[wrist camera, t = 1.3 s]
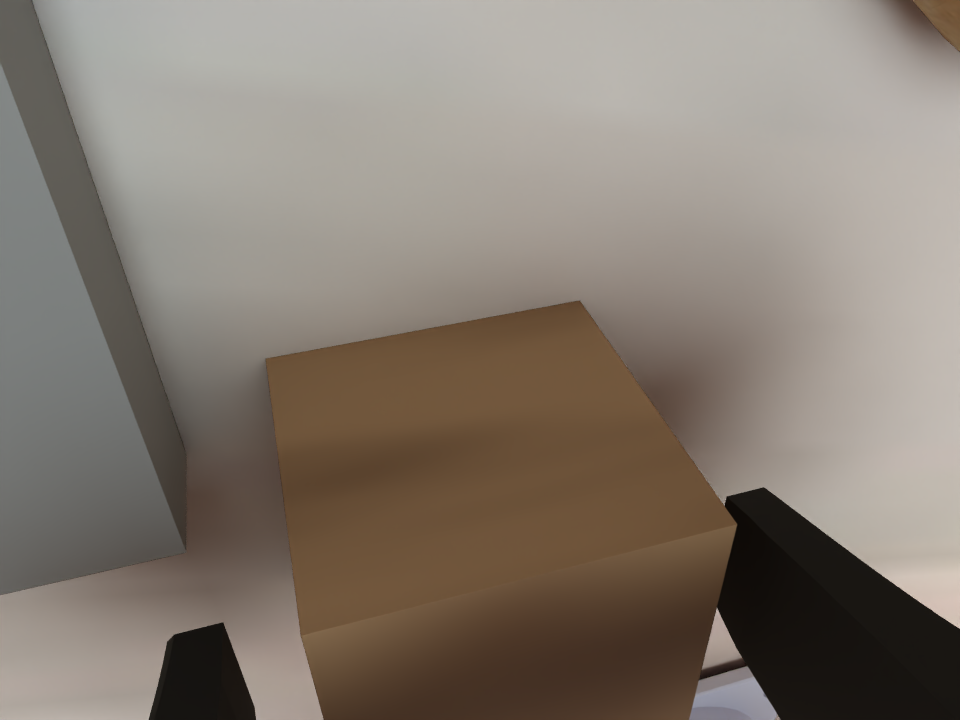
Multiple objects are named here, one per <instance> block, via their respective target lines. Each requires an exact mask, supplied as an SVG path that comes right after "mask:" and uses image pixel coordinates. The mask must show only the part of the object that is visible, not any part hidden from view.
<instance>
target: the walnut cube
mask: <svg viewBox="0 0 960 720" xmlns="http://www.w3.org/2000/svg"><path fill="white" fill-rule="evenodd" d="M266 366H267V373H268V381H269V389H270V397H271V405H272V413H273V421H274V428H275V436H276V444H277V452H278V460H279V468H280V476H281V483H282V491H283V499H284V507H285V515H286V523H287V531H288V538H289V546H290V554H291V562H292V570H293V578H294V586H295V593H296V601H297V609H298V617H299V625H300V633H301V638H302V642H303V645H304V649H305V653H306V656H307V660H308V664H309V667H310V671H311V674H312V678H313V682H314V685H315V689H316V693H317V696H318V700H319V704H320V707H321V711H322V715H323V718H324V720H689V718H690V714H691V710H692V706H693V702H694V698H695V694H696V690H697V686H698V681H699V677H700V673H701V669H702V665H703V661H704V657H705V653H706V649H707V645H708V641H709V637H710V633H711V629H712V625H713V621H714V616H715V612H716V608H717V604H718V600H719V596H720V592H721V588H722V584H723V580H724V576H725V572H726V568H727V564H728V560H729V556H730V552H731V547H732V543H733V539H734V535H735V531H736V527H737V523H736V522H735V521H734V519H733V518H732V516H731V515H730V513H729V512H728V511H727V509H726V508H725V506H724V505H723V503H722V502H721V501H720V499H719V498H718V496H717V495H716V494H715V492H714V491H713V489H712V488H711V486H710V485H709V484H708V482H707V481H706V479H705V478H704V476H703V475H702V474H701V472H700V471H699V469H698V468H697V467H696V465H695V464H694V462H693V461H692V459H691V458H690V457H689V455H688V454H687V452H686V451H685V450H684V448H683V447H682V445H681V444H680V442H679V441H678V440H677V438H676V437H675V435H674V434H673V432H672V431H671V430H670V428H669V427H668V425H667V424H666V423H665V421H664V420H663V418H662V417H661V415H660V414H659V413H658V411H657V410H656V408H655V407H654V405H653V404H652V403H651V401H650V400H649V398H648V397H647V396H646V394H645V393H644V391H643V390H642V388H641V387H640V386H639V384H638V383H637V381H636V380H635V378H634V377H633V376H632V374H631V373H630V371H629V370H628V369H627V367H626V366H625V364H624V363H623V361H622V360H621V359H620V357H619V356H618V354H617V353H616V352H615V350H614V349H613V347H612V346H611V344H610V343H609V342H608V340H607V339H606V337H605V336H604V334H603V333H602V332H601V330H600V329H599V327H598V326H597V325H596V323H595V322H594V320H593V319H592V317H591V316H590V315H589V313H588V312H587V310H586V309H585V307H584V306H583V305H582V303H581V302H580V301H574V302H569V303H564V304H558V305H553V306H547V307H542V308H537V309H531V310H526V311H521V312H515V313H510V314H504V315H499V316H494V317H488V318H483V319H477V320H472V321H467V322H461V323H456V324H451V325H445V326H440V327H434V328H429V329H424V330H418V331H413V332H407V333H402V334H397V335H391V336H386V337H381V338H375V339H370V340H364V341H359V342H354V343H348V344H343V345H337V346H332V347H327V348H321V349H316V350H310V351H305V352H300V353H294V354H289V355H284V356H278V357H273V358H267V359H266Z"/></svg>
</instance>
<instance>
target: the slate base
mask: <svg viewBox="0 0 960 720" xmlns="http://www.w3.org/2000/svg"><path fill="white" fill-rule="evenodd" d="M182 553H186V453H185V450H184V447H183V444H182V441H181V438H180V435H179V432H178V429H177V426H176V423H175V420H174V417H173V414H172V411H171V409H170V406H169V403H168V400H167V397H166V394H165V391H164V388H163V385H162V382H161V379H160V376H159V373H158V370H157V368H156V365H155V362H154V359H153V356H152V353H151V350H150V347H149V344H148V341H147V338H146V335H145V332H144V329H143V327H142V324H141V321H140V318H139V315H138V312H137V309H136V306H135V303H134V300H133V297H132V294H131V291H130V288H129V285H128V283H127V280H126V277H125V274H124V271H123V268H122V265H121V262H120V259H119V256H118V253H117V250H116V247H115V244H114V242H113V239H112V236H111V233H110V230H109V227H108V224H107V221H106V218H105V215H104V212H103V209H102V206H101V203H100V201H99V198H98V195H97V192H96V189H95V186H94V183H93V180H92V177H91V174H90V171H89V168H88V165H87V162H86V159H85V157H84V154H83V151H82V148H81V145H80V142H79V139H78V136H77V133H76V130H75V127H74V124H73V121H72V118H71V116H70V113H69V110H68V107H67V104H66V101H65V98H64V95H63V92H62V89H61V86H60V83H59V80H58V77H57V75H56V72H55V69H54V66H53V63H52V60H51V57H50V54H49V51H48V48H47V45H46V42H45V39H44V36H43V33H42V31H41V28H40V25H39V22H38V19H37V16H36V13H35V10H34V7H33V4H32V1H31V0H0V595H3V594H7V593H12V592H16V591H20V590H25V589H29V588H34V587H38V586H42V585H47V584H51V583H55V582H60V581H64V580H69V579H73V578H77V577H82V576H86V575H90V574H95V573H99V572H103V571H108V570H112V569H117V568H121V567H125V566H130V565H134V564H138V563H143V562H147V561H152V560H156V559H160V558H165V557H169V556H173V555H178V554H182Z"/></svg>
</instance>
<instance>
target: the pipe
mask: <svg viewBox="0 0 960 720" xmlns="http://www.w3.org/2000/svg"><path fill="white" fill-rule="evenodd" d="M913 2H914V3H915V4H916V5H917V6H918V7H919V9H920V10H921V11H922V12H923V13H924V15H925V16H926V17H927V18H928V19H929V20H930V22H931V23H932V24H933V25H934V26H935V28H936V29H937V30H938V31H939V32H940V33H941V35H942V36H943V37H944V38H945V39H946V40H947V41H948V42H950V43H951V44H952V45H953V46H954V47H955V48H956V49H957V50H958V51H959V52H960V0H913Z"/></svg>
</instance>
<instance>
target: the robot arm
mask: <svg viewBox="0 0 960 720" xmlns="http://www.w3.org/2000/svg"><path fill="white" fill-rule="evenodd" d="M725 508H726V509H727V511H728V512H729V513H730V515H731V516H732V518H733V519H734V521H735V522H736V523H737V527H736V531H735V535H734V539H733V543H732V547H731V552H730V556H729V560H728V564H727V568H726V572H725V576H724V580H723V584H722V588H721V592H720V596H719V600H718V604H717V608H718V610H719V613H720V615H721V617H722V619H723V621H724V623H725V625H726V627H727V629H728V632H729V634H730V636H731V638H732V640H733V642H734V644H735V646H736V648H737V650H738V651H739V653H740V655H741V656H742V658H743V660H744V661H745V663H746V665H747V666H745V667H742V668H739V669H735V670H732V671H728V672H725V673H722V674H718V675H715V676H712V677H708V678H705V679H701V680H699V681H698V686H697V690H696V694H695V698H694V702H693V706H692V710H691V714H690V718H689V720H775V718H776V716H777V714H778V716H779V718H780V719H781V720H960V629H959V628H957V627H956V626H954V625H953V624H951V623H950V622H948V621H947V620H945V619H943V618H942V617H940V616H939V615H938V614H936V613H935V612H933V611H932V610H930V609H929V608H927V607H926V606H924V605H923V604H921V603H920V602H919V601H917V600H916V599H914V598H913V597H911V596H910V595H909V594H907V593H906V592H904V591H903V590H902V589H900V588H899V587H897V586H896V585H895V584H893V583H892V582H890V581H889V580H888V579H886V578H885V577H883V576H882V575H880V574H879V573H878V572H876V571H875V570H874V569H872V568H871V567H869V566H868V565H867V564H865V563H864V562H863V561H861V560H860V559H859V558H857V557H856V556H854V555H853V554H852V553H850V552H849V551H848V550H846V549H845V548H844V547H842V546H841V545H840V544H838V543H837V542H836V541H834V540H833V539H832V538H830V537H829V536H828V535H826V534H825V533H824V532H822V531H821V530H820V529H819V528H817V527H816V526H815V525H813V524H812V523H811V522H809V521H808V520H807V519H805V518H804V517H803V516H801V515H800V514H799V513H797V512H796V511H795V510H793V509H792V508H791V507H790V506H788V505H787V504H786V503H784V502H783V501H782V500H780V499H779V498H778V497H776V496H775V495H774V494H772V493H771V492H769V491H768V490H767V489H765V488H764V487H763V488H759V489H755V490H751V491H747V492H743V493H739V494H735V495H731V496H727V498H726V502H725ZM149 720H256V716H255V708H254V705H253V702H252V699H251V696H250V694H249V691H248V688H247V686H246V683H245V680H244V677H243V675H242V672H241V669H240V667H239V664H238V661H237V659H236V656H235V653H234V650H233V648H232V645H231V642H230V640H229V637H228V634H227V631H226V629H225V626H224V623H219V624H215V625H211V626H207V627H203V628H199V629H195V630H191V631H187V632H183V633H179V634H175V635H173V636H172V638H171V639H170V640H169V641H168V642H167V646H166V651H165V656H164V661H163V666H162V670H161V674H160V678H159V682H158V687H157V691H156V694H155V698H154V702H153V706H152V709H151V713H150V717H149Z"/></svg>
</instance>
